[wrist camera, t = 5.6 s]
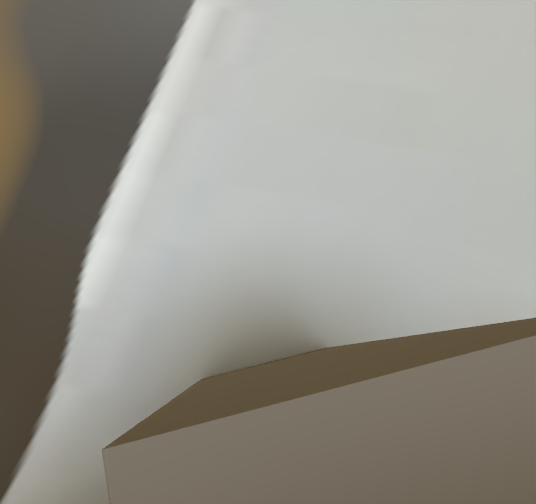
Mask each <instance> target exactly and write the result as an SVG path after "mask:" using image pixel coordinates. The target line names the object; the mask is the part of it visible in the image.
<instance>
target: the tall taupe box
mask: <svg viewBox="0 0 536 504" xmlns="http://www.w3.org/2000/svg"><path fill="white" fill-rule="evenodd" d="M102 453H103V460H104V466H105V473H106V479H107V486H108V492H109V499H110V504H536V318H532V319H525V320H518V321H511V322H504V323H497V324H490V325H483V326H476V327H469V328H462V329H455V330H448V331H441V332H434V333H427V334H420V335H413V336H407V337H400V338H393V339H386V340H379V341H372V342H365V343H358V344H351V345H344V346H337V347H330V348H325V349H321V350H317V351H313V352H309V353H305V354H301V355H297V356H293V357H289V358H285V359H281V360H277V361H273V362H269V363H265V364H261V365H257V366H253V367H249V368H245V369H241V370H237V371H233V372H229V373H225V374H221V375H217V376H213V377H209V378H205V379H201V380H200V381H198V382H197V383H196V384H194V385H193V386H191V387H190V388H189V389H187V390H186V391H184V392H183V393H181V394H180V395H179V396H177V397H176V398H174V399H173V400H172V401H170V402H169V403H167V404H166V405H164V406H163V407H162V408H160V409H159V410H157V411H156V412H155V413H153V414H152V415H150V416H149V417H148V418H146V419H145V420H143V421H142V422H140V423H139V424H138V425H136V426H135V427H133V428H132V429H131V430H129V431H128V432H126V433H125V434H123V435H122V436H121V437H119V438H118V439H116V440H115V441H114V442H112V443H111V444H109V445H108V446H106V447H105V448H104V449H102Z"/></svg>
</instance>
